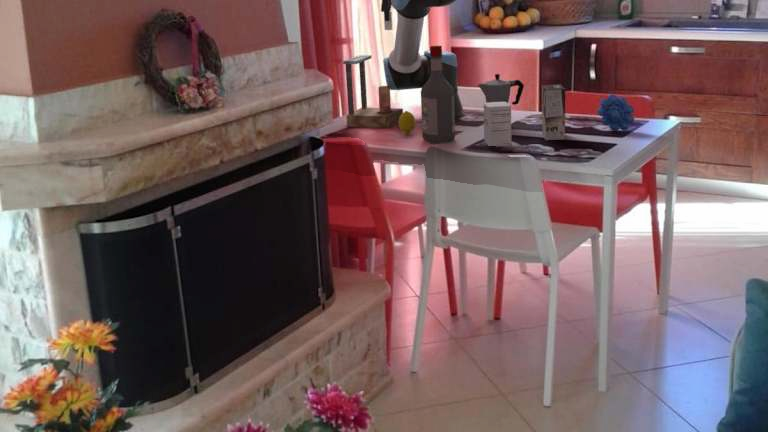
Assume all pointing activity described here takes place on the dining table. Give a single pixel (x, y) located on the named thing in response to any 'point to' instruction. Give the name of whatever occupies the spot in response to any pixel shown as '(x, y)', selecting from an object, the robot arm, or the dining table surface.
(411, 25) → the robot arm
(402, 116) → the lemon
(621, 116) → the blue flower
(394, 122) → the socket awning
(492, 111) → the supplement box
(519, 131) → the dining table surface
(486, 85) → the coffeepot
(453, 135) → the liquor
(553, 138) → the coffee box
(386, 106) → the peg
